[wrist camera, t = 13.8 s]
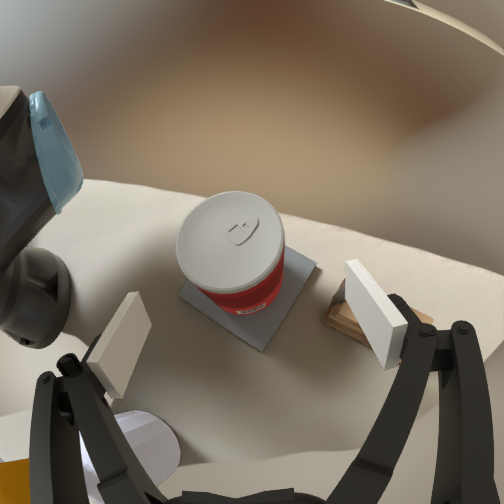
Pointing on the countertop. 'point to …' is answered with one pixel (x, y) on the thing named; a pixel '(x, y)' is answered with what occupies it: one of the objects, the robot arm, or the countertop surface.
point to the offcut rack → (353, 318)
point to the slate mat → (267, 320)
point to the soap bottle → (139, 438)
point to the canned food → (233, 251)
